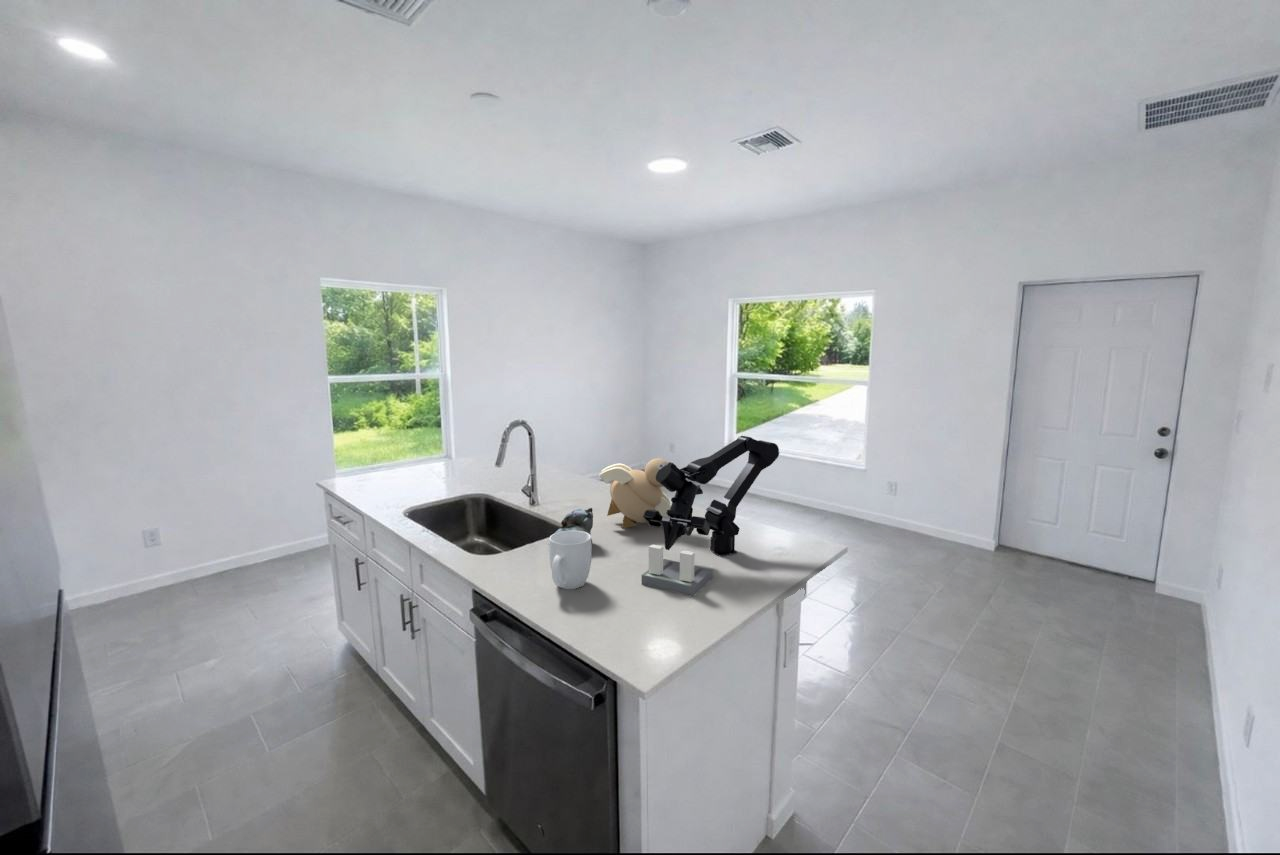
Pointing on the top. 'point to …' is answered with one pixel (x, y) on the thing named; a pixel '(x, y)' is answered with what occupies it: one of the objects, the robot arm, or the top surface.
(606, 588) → the top surface
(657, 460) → the chick figurine
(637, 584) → the top surface
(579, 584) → the mug
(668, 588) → the breaker panel
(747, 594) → the top surface
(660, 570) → the block
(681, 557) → the block
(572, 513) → the lucky cat figurine
